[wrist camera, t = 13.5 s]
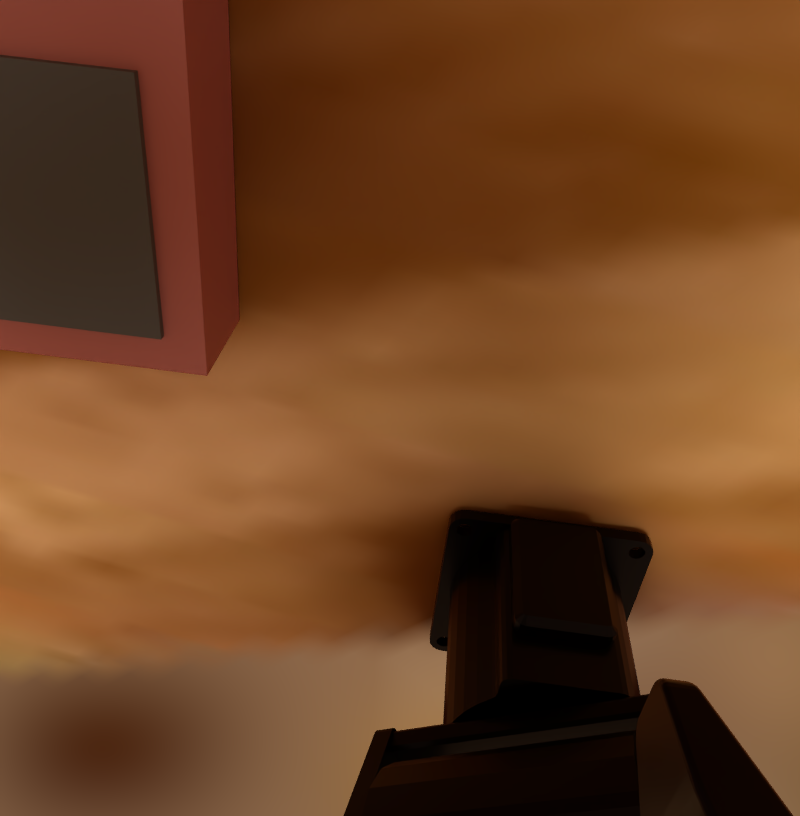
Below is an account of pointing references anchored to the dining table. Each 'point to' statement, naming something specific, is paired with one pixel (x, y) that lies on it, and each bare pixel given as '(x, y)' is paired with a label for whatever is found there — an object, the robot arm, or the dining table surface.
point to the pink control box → (117, 182)
